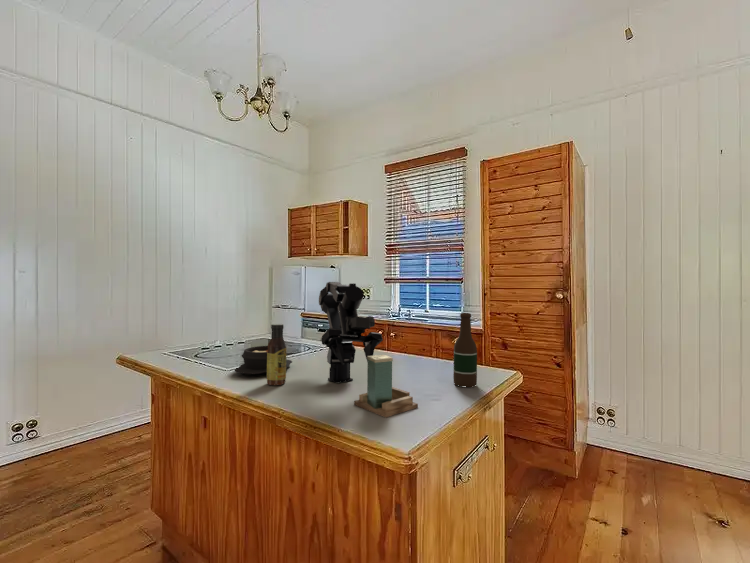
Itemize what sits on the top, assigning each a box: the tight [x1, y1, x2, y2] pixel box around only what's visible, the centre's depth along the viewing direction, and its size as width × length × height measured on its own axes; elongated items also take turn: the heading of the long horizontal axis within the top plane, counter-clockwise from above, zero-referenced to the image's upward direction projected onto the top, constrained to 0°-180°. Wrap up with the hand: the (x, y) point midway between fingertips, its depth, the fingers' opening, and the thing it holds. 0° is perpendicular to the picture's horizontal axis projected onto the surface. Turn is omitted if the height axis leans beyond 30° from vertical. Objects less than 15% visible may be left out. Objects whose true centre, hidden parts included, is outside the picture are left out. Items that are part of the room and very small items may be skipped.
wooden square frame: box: [353, 386, 419, 419], centre depth 105 cm, size 12×13×4 cm
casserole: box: [233, 345, 293, 375], centre depth 146 cm, size 25×19×8 cm
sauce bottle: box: [266, 323, 287, 386], centre depth 127 cm, size 7×6×20 cm
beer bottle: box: [452, 312, 478, 388], centre depth 127 cm, size 8×8×24 cm
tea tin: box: [366, 354, 394, 409], centre depth 103 cm, size 5×5×13 cm
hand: (357, 364), depth 112 cm, fingers open, 9 cm apart
